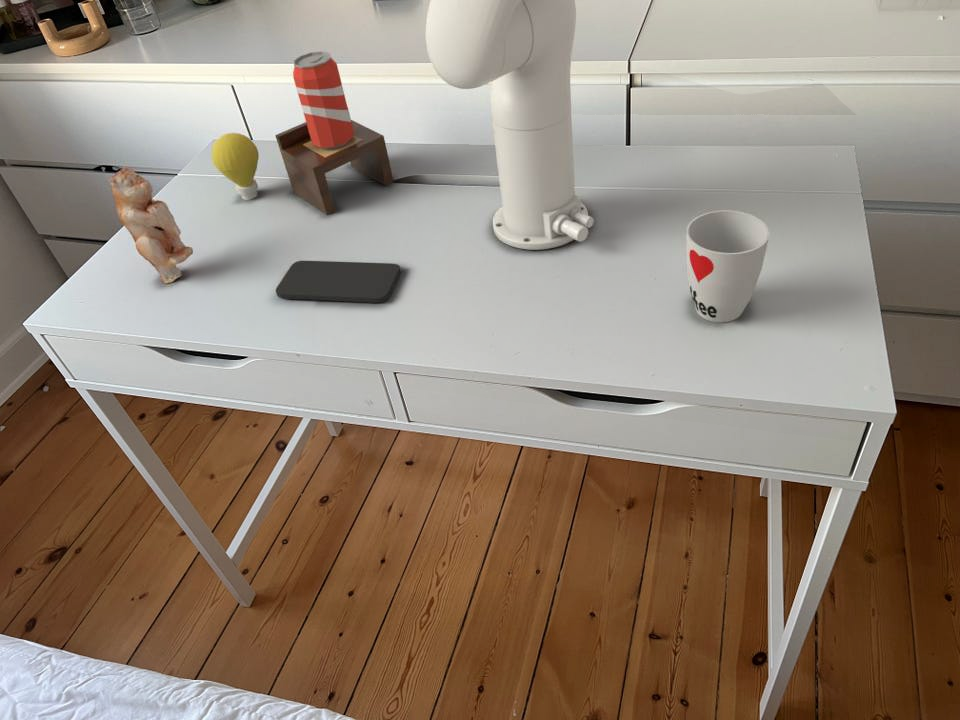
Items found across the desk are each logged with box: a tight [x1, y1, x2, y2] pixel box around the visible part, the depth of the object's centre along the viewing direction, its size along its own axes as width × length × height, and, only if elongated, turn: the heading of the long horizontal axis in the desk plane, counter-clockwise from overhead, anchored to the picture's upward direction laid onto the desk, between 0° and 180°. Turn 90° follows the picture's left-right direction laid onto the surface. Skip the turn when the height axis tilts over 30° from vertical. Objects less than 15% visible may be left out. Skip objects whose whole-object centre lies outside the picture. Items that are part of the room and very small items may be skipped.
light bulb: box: [211, 132, 260, 201], centre depth 115 cm, size 7×7×10 cm
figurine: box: [108, 166, 194, 284], centre depth 100 cm, size 6×8×15 cm
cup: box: [685, 209, 770, 323], centre depth 82 cm, size 8×8×10 cm
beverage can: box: [292, 50, 354, 149], centre depth 108 cm, size 6×6×12 cm
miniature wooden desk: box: [275, 109, 395, 216], centre depth 114 cm, size 10×12×10 cm
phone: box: [275, 260, 402, 304], centre depth 98 cm, size 7×1×15 cm
